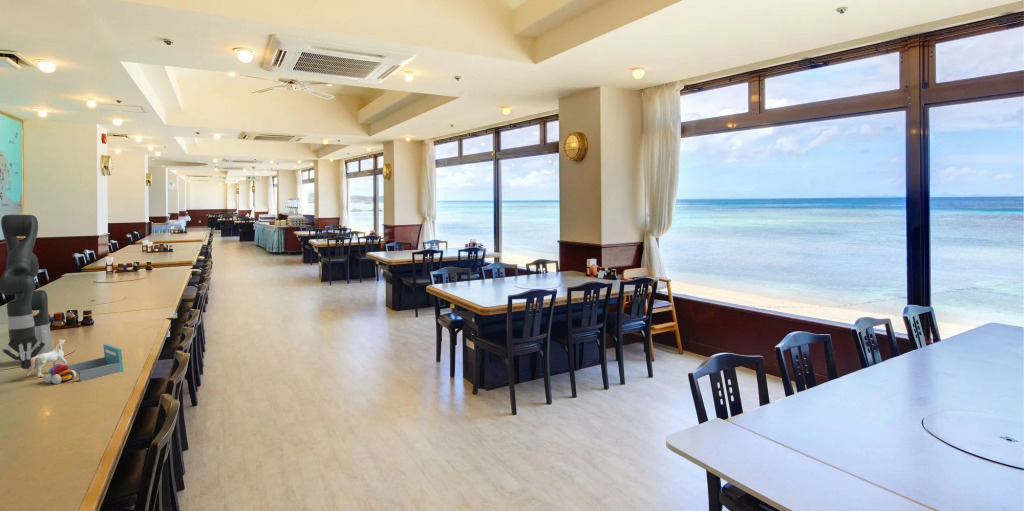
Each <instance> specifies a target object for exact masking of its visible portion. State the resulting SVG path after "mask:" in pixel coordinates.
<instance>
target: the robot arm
mask: <svg viewBox="0 0 1024 511" xmlns="http://www.w3.org/2000/svg"><path fill="white" fill-rule="evenodd" d="M0 227H1V231H2V235H3V238H4V241H5V245H6V249H7V257H6V265H5V266H6V267H5V270H4V271H3V273H2V275H1V276H0V294H2V295H5V296H8V295H9V296H10V295H14V299H13V300H10V301H8V302H7V303H6V312H7V313H6V314H7V328H8V337H9V338H8V339H9V342H8V344H7V346H6V347H5V348H2V349H1V352H2V353H4V354H5V355H7V356H8V357H10V358H11V359H12V360H15V361H19V364H20V365H19V366H20V368H21V369H23V370H28V369H29V367H31V358H32V357H35V356H37V355H39V354H44V353H48V352H49V351H51V350H52V349H53V346H52V336H51V335H52V333H51V326H50V317H49V299H48V293H47V291H45V290H44V289H40V290H39V289H38V290H35V288H36V280H35V278H36V277H37V275H38V274H39V272H40V266H39V260H38V259H39V258H38V257H37V255H36V254H35V253H34V252H33V251H34V247H35V244H36V241H37V236H38V232H39V222H38V218H37V216H35V215H33V214H4V215H2V216H1V220H0ZM18 237H23V238H24V239H23V240H22V241H20V240H19V239H18ZM34 311H35V312H36V311H38V312H37V313H36V314H34V315H33V312H34ZM12 350H14V351H15V352H17V355H16V354H14V353H12Z"/></svg>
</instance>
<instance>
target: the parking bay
mask: <svg viewBox="0 0 1024 511" xmlns="http://www.w3.org/2000/svg"><path fill="white" fill-rule="evenodd" d="M122 351H123V350H122V348H120V347H118V346H114V345H111V344H108V343H103V353H104V354H103V356H104V357H99V358H95V359H90V360H84V361H81V362H76V363H71V364H66V365H67V366H68V370H69V369H70V370H74V371H75V372H76V374H78V379H79V380H78V381H79V382H83V381H88V380H92V379H96V378H100V377H101V378H102V377H104V376H109V375H112V374H116V373H120V372H124V363H123V354H122Z"/></svg>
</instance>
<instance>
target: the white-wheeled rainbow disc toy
mask: <svg viewBox="0 0 1024 511" xmlns="http://www.w3.org/2000/svg"><path fill="white" fill-rule="evenodd" d="M67 365H68V364H66V365H64V364H62V363H56V364H55V366H54V367H53V366H52V367H51V366H50V368H49V369H48V373H46V374H45V375H44V377H42V378H43V379H42V380H43V382H44V383H46V384H52V383H53V384H55V385H58V384H61V383H62V381H68V380H73V379H76V377H77V373H76V372H75V371H74V370H70V369H69V370H68V366H67Z"/></svg>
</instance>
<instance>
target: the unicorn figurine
mask: <svg viewBox="0 0 1024 511" xmlns="http://www.w3.org/2000/svg"><path fill="white" fill-rule="evenodd" d="M65 341H66V339H61V337H59V336H58V339H57V344H55V345H54V346H53V347H52V350H51V351H49V352H48V353H44V354H39V355H37V356H35V357H32V358H31V367H29V369H26V371H25V374H26V377H28V376H30V375H31V374H32V373H33V372H34V370H36V374H37V377H38V378H44V376H45V375H44V374H43V373H42V368H43V367H44V366H45V364H46V363H52V367H54V366H55V365H56V364H57V361H58V360H59V361H61V362H63V365H68V364H67V363H68V360H67V359H66V358H64V356H65V353H64V351H63V347H64V343H65Z"/></svg>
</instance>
